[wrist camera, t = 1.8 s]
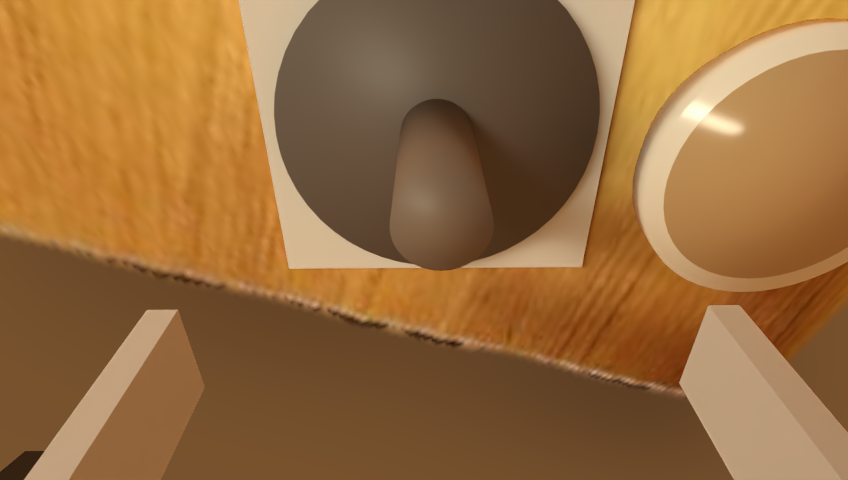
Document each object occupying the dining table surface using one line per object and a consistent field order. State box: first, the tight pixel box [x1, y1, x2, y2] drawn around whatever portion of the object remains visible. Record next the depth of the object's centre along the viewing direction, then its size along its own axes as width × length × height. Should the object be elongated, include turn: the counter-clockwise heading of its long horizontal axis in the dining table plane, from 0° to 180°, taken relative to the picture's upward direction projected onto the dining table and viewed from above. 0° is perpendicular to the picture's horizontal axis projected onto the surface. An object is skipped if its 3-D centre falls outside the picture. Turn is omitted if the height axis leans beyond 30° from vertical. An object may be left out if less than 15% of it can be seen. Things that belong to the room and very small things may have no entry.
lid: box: [274, 0, 600, 271], centre depth 22 cm, size 16×16×10 cm
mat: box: [239, 0, 635, 269], centre depth 26 cm, size 18×18×1 cm
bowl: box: [633, 18, 848, 292], centre depth 25 cm, size 13×13×5 cm
